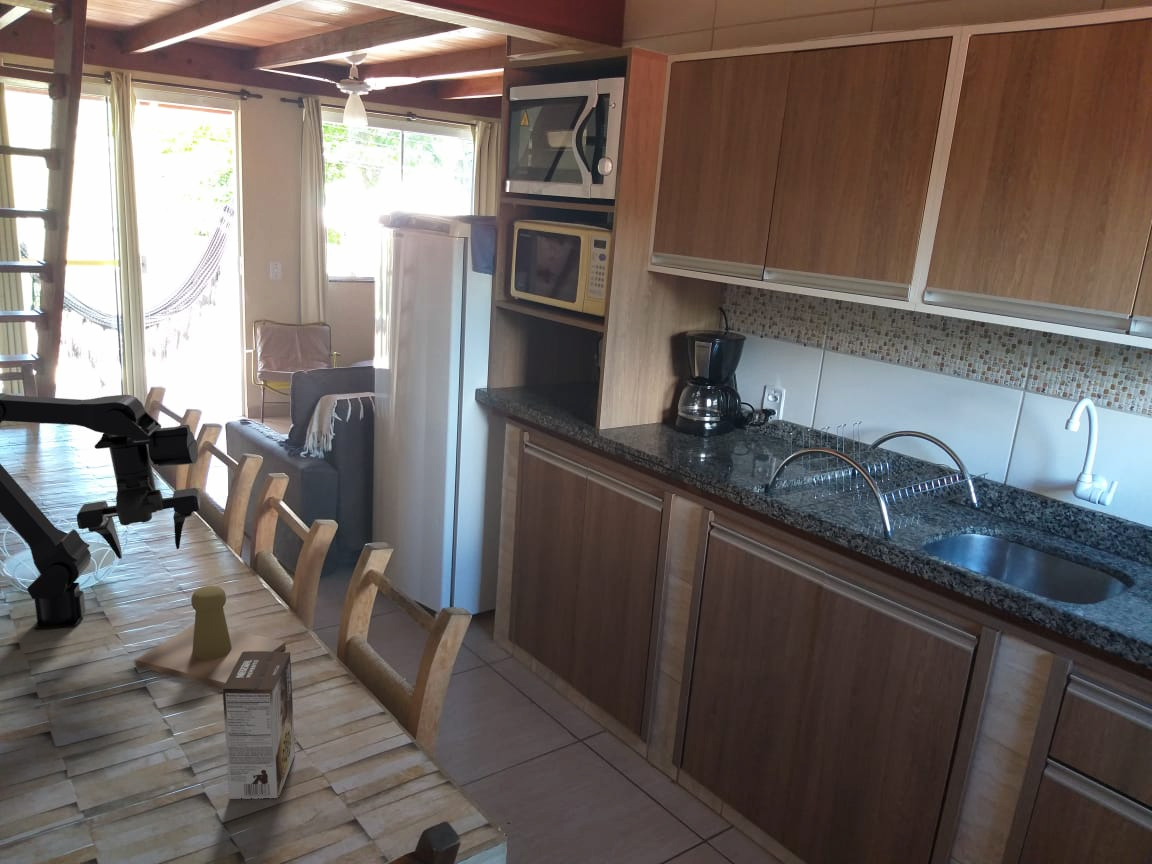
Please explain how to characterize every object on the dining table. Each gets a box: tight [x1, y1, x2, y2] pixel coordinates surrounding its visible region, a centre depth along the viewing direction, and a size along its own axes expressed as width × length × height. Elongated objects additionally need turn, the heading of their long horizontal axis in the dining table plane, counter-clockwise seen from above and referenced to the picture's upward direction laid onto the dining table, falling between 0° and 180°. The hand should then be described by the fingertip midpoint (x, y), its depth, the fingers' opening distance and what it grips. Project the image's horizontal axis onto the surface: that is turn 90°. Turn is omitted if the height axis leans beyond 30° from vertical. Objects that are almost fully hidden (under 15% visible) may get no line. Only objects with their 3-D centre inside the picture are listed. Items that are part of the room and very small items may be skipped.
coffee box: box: [221, 651, 296, 800], centre depth 109 cm, size 9×6×16 cm
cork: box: [190, 585, 232, 660], centre depth 137 cm, size 6×6×11 cm
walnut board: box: [135, 623, 287, 690], centre depth 138 cm, size 18×14×1 cm
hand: (149, 553), depth 147 cm, fingers open, 9 cm apart
